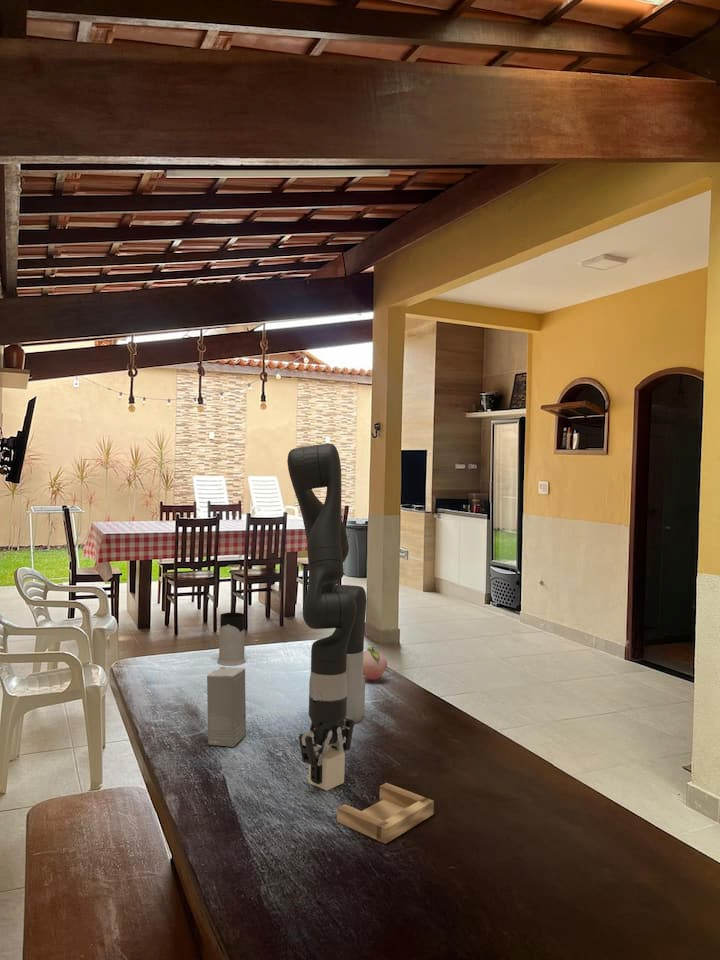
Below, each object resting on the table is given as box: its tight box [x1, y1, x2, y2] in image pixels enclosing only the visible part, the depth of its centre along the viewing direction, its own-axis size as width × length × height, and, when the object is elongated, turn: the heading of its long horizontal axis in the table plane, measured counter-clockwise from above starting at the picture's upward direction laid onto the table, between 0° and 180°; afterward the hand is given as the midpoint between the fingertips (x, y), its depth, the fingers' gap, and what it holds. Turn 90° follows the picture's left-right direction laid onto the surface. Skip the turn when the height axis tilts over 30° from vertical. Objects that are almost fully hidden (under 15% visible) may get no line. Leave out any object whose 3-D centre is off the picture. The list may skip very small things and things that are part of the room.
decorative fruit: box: [363, 646, 388, 682], centre depth 213 cm, size 9×8×10 cm
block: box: [307, 746, 346, 792], centre depth 144 cm, size 5×5×6 cm
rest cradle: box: [336, 782, 435, 845], centre depth 130 cm, size 14×11×2 cm
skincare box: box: [206, 666, 247, 748], centre depth 165 cm, size 8×7×16 cm
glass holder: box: [217, 612, 246, 667], centre depth 232 cm, size 9×14×15 cm, turn 170°
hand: (326, 777), depth 144 cm, fingers closed on block, 5 cm apart
